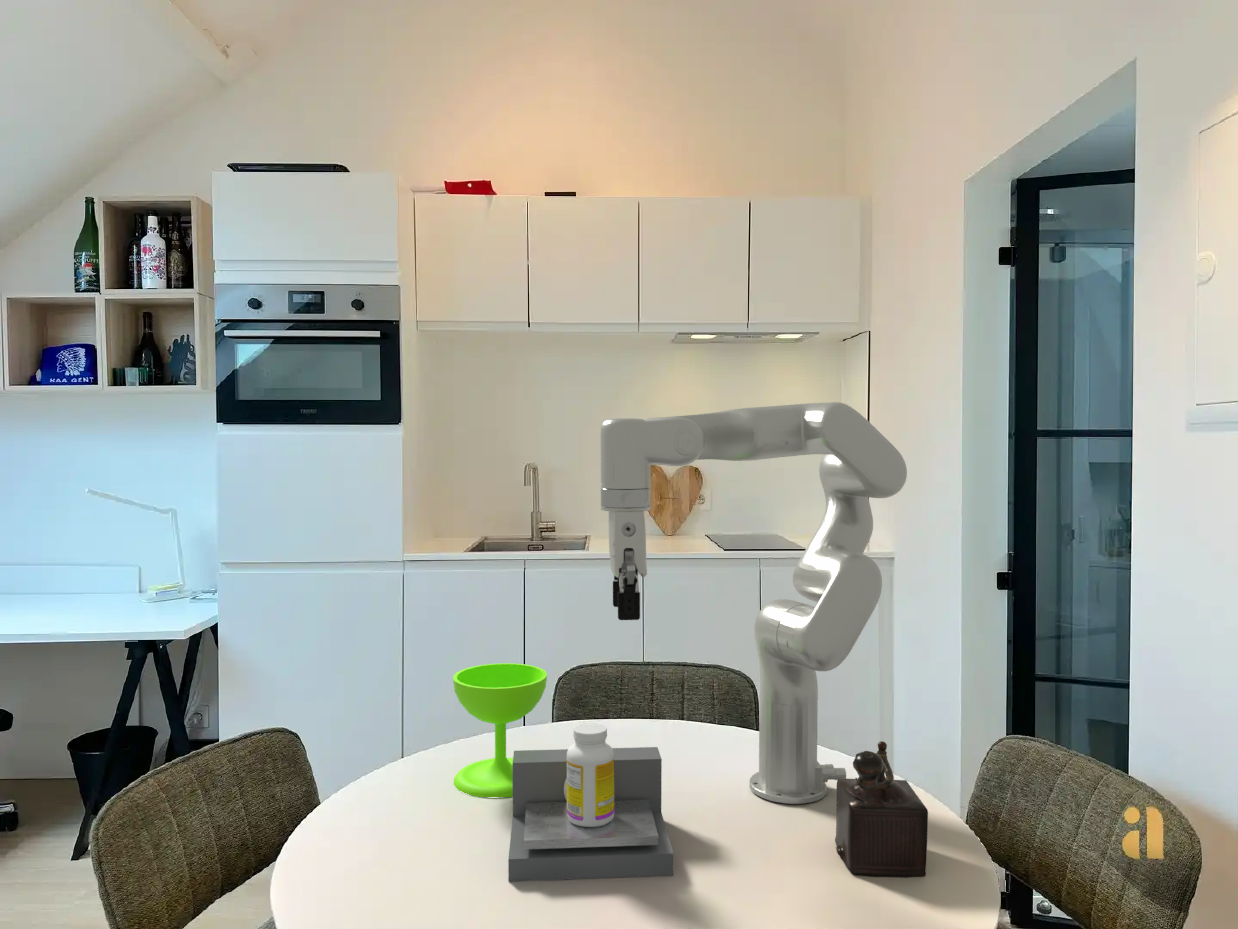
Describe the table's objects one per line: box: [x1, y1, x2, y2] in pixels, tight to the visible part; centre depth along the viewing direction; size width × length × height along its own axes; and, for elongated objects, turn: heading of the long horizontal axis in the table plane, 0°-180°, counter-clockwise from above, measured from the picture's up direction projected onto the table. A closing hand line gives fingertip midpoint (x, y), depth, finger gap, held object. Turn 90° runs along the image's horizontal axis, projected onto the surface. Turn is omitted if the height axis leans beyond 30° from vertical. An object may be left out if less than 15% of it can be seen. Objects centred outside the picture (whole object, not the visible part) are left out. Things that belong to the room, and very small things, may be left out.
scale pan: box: [524, 799, 658, 849], centre depth 124 cm, size 18×12×1 cm, turn 94°
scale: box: [507, 746, 674, 882], centre depth 126 cm, size 22×18×11 cm
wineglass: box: [452, 662, 548, 798], centre depth 151 cm, size 16×16×18 cm
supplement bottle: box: [567, 722, 614, 827], centre depth 124 cm, size 7×7×13 cm
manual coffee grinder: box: [834, 740, 929, 878], centre depth 120 cm, size 16×11×18 cm
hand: (625, 612), depth 134 cm, fingers open, 9 cm apart
